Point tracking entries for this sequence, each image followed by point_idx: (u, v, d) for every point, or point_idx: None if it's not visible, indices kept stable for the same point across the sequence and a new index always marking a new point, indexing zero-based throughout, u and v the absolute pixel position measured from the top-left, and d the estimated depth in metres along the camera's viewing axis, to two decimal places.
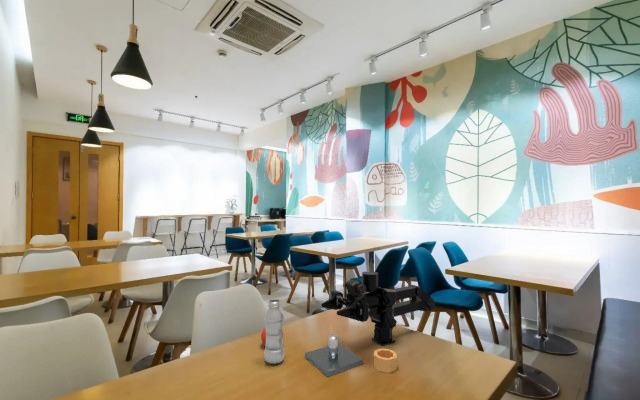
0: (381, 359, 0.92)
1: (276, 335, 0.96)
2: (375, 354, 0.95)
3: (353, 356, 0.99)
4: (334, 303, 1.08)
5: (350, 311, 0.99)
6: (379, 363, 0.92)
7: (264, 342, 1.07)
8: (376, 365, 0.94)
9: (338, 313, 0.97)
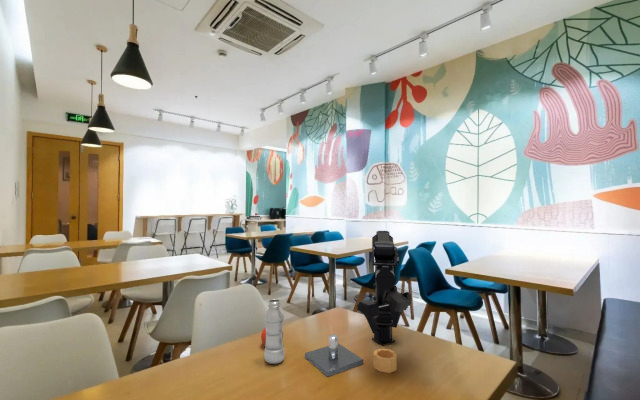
0: (381, 359, 0.92)
1: (276, 335, 0.96)
2: (375, 354, 0.95)
3: (353, 356, 0.99)
4: None
5: None
6: (379, 363, 0.92)
7: (264, 342, 1.07)
8: (376, 365, 0.94)
9: None
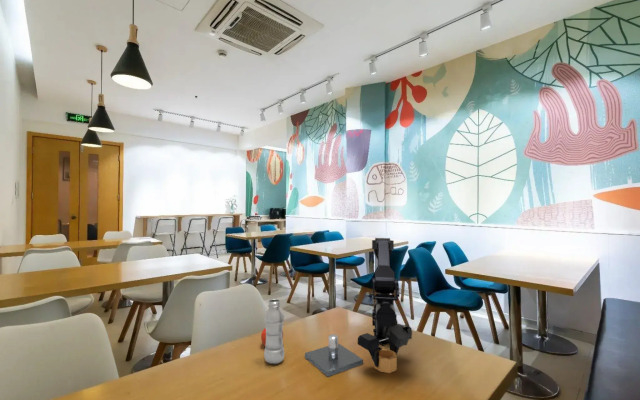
0: (381, 359, 0.92)
1: (276, 335, 0.96)
2: None
3: (353, 356, 0.99)
4: None
5: None
6: (379, 363, 0.92)
7: (264, 342, 1.07)
8: None
9: None
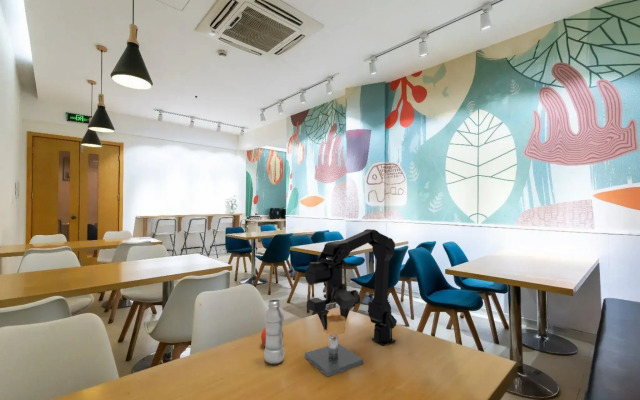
0: (329, 322, 0.96)
1: (276, 335, 0.96)
2: None
3: (353, 356, 0.99)
4: None
5: None
6: (327, 326, 0.96)
7: (264, 342, 1.07)
8: None
9: None
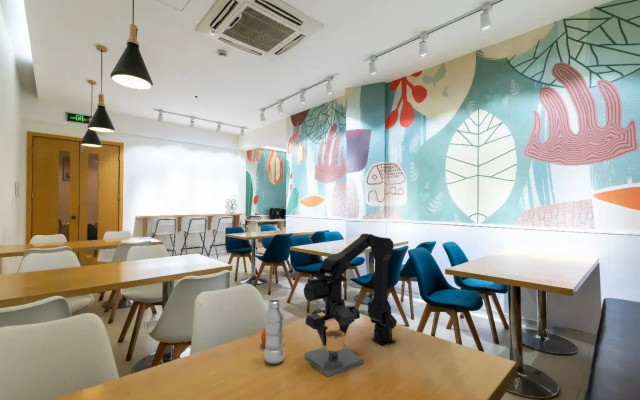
0: (328, 338, 0.96)
1: (276, 335, 0.96)
2: None
3: (353, 356, 0.99)
4: None
5: None
6: (326, 342, 0.96)
7: (264, 342, 1.07)
8: None
9: None
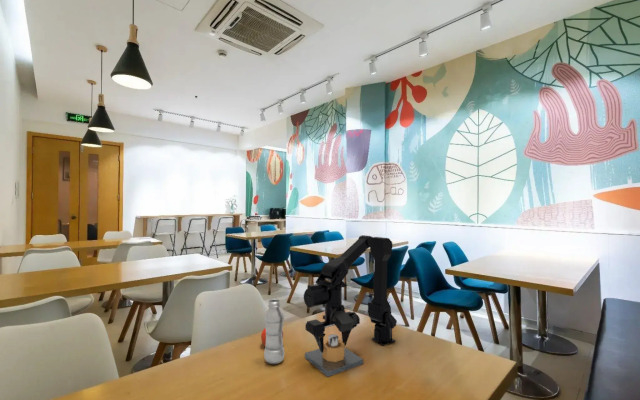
0: (328, 349, 0.96)
1: (276, 335, 0.96)
2: (324, 344, 0.99)
3: (353, 356, 0.99)
4: None
5: None
6: (326, 352, 0.96)
7: (264, 342, 1.07)
8: (324, 354, 0.97)
9: None
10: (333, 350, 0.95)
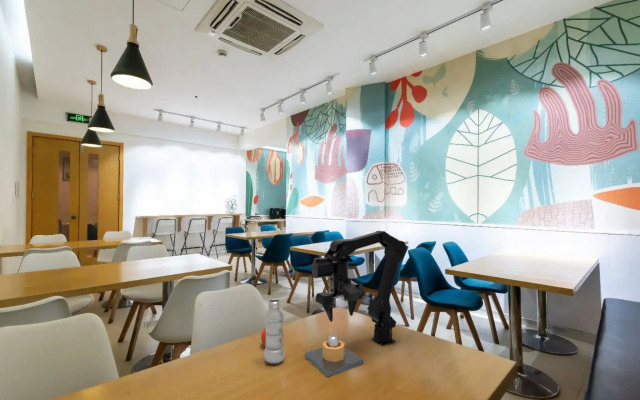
0: (328, 349, 0.96)
1: (276, 335, 0.96)
2: (324, 344, 0.99)
3: (353, 356, 0.99)
4: None
5: None
6: (326, 352, 0.96)
7: (264, 342, 1.07)
8: (324, 354, 0.97)
9: None
10: (333, 350, 0.95)
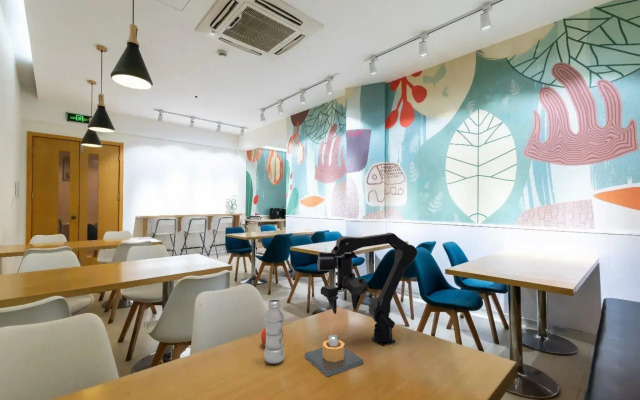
0: (328, 349, 0.96)
1: (276, 335, 0.96)
2: (324, 344, 0.99)
3: (353, 356, 0.99)
4: None
5: None
6: (326, 352, 0.96)
7: (264, 342, 1.07)
8: (324, 354, 0.97)
9: None
10: (333, 350, 0.95)
